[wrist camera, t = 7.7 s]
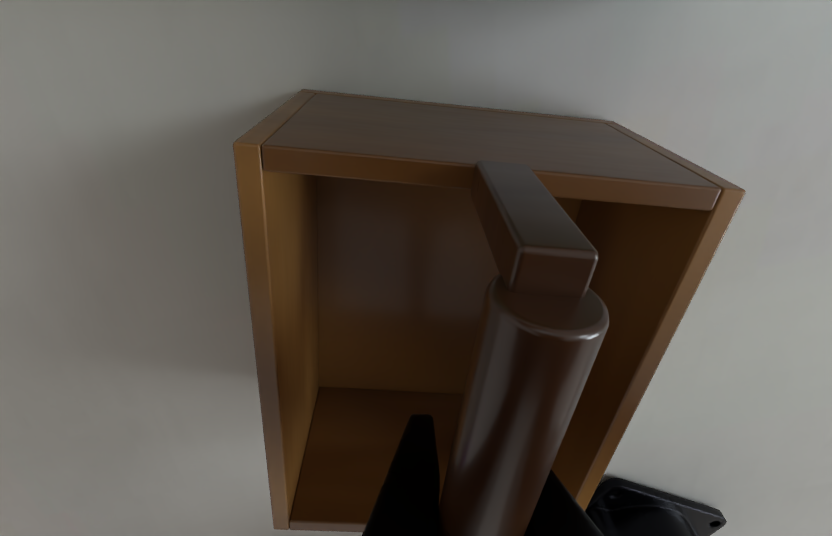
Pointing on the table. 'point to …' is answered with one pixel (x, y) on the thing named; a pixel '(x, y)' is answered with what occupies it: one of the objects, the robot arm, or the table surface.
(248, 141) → the wooden basket with handle
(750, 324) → the table surface
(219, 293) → the table surface
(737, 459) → the table surface
